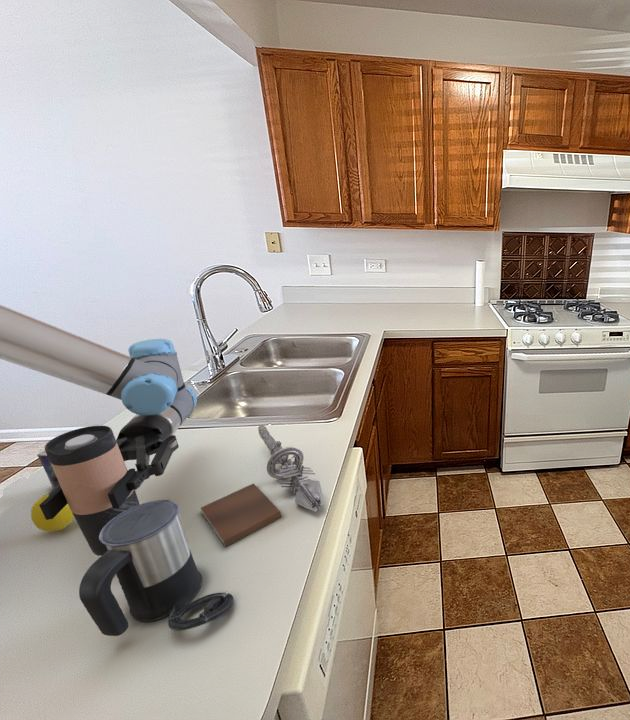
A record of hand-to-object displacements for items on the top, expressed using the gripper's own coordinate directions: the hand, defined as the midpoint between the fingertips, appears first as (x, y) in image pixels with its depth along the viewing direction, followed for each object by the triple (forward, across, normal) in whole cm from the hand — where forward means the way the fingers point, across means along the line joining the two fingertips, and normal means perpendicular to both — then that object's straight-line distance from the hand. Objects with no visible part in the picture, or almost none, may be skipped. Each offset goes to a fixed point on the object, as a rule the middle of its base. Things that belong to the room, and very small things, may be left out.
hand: (80, 506), depth 59 cm
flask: (-32, +21, -16) cm, 41 cm away
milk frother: (+7, -12, -16) cm, 21 cm away
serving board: (-11, -16, -16) cm, 25 cm away
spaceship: (-22, -23, -16) cm, 36 cm away
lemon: (-17, +16, -16) cm, 28 cm away
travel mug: (-5, 0, -11) cm, 12 cm away
